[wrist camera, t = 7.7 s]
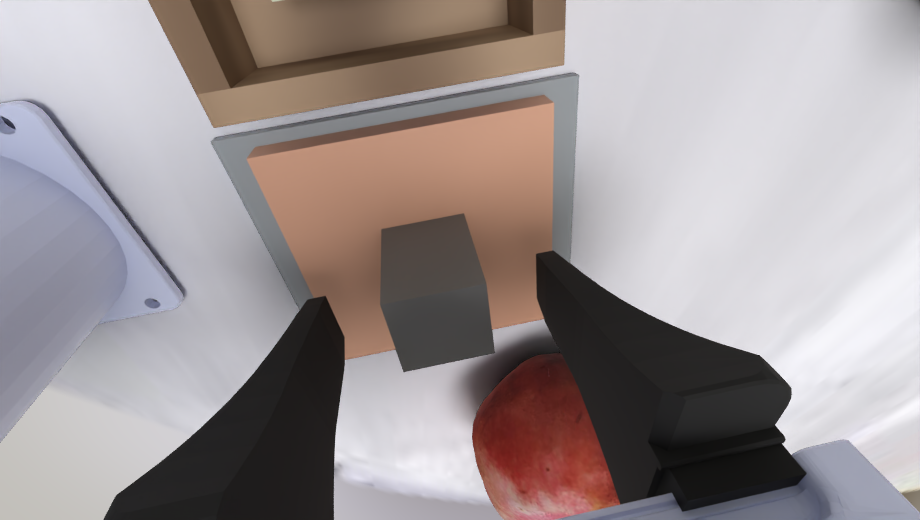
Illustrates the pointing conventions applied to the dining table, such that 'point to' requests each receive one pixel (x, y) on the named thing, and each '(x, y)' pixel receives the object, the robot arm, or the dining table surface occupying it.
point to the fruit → (540, 445)
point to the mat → (555, 88)
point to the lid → (420, 225)
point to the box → (350, 49)
